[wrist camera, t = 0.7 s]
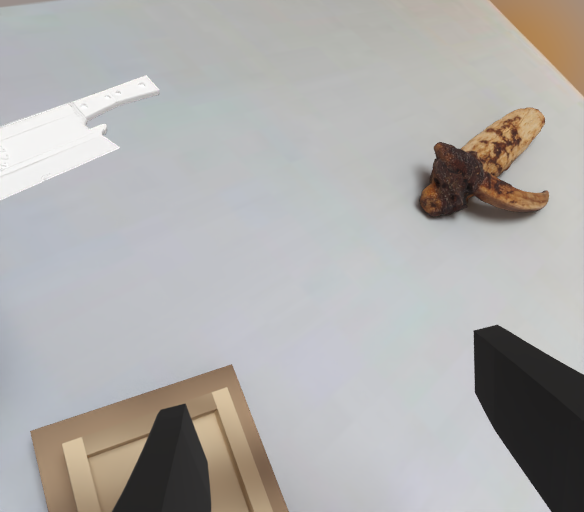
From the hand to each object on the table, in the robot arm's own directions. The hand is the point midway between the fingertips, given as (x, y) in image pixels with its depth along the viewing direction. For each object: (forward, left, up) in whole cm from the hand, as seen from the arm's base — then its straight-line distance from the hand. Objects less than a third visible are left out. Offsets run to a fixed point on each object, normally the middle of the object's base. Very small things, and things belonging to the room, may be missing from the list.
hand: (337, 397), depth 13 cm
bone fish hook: (+14, -31, -18) cm, 38 cm away
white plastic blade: (+23, +1, -18) cm, 29 cm away
